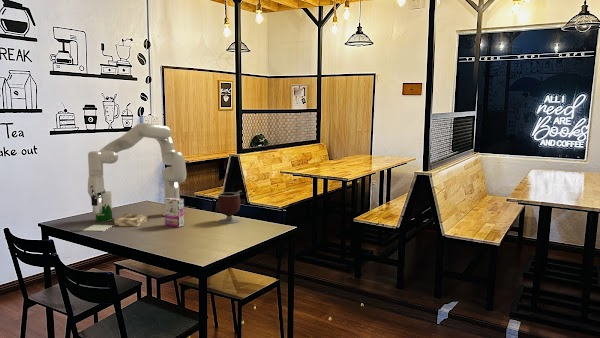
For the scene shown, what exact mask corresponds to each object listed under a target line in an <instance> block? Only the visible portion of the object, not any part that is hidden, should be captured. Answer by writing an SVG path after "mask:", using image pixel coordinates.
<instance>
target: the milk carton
mask: <svg viewBox="0 0 600 338" xmlns="http://www.w3.org/2000/svg"><path fill="white" fill-rule="evenodd" d="M105 189H106V188H104V192H103V204H102V213H99V214H95V222H102V221H107V222H109V221H111V220H110V219H112V220H113V219H114V218H113V210H112V209H113V205H112V202H113V201H112V196H113V195H112V194H113V191H112V190H105ZM93 195H95V194H93ZM108 220H109V221H108Z"/></svg>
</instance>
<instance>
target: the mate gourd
mask: <svg viewBox="0 0 600 338" xmlns="http://www.w3.org/2000/svg"><path fill="white" fill-rule="evenodd" d="M240 193H242V190H238V191H236V192H221V193H220V192H219V193H218V195H217V208H218V211H219V213H221V214H222V215H225V216H226V218H225V217H224V218H221V219H218V220H219V221H218V222H219V223H220V224H224V225H225V224H226V225H229V224H237V223H239V222H240V219H239V218H233V215H236V214H238V212H239V211H240V208H241V197H240Z"/></svg>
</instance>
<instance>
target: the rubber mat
mask: <svg viewBox="0 0 600 338" xmlns="http://www.w3.org/2000/svg"><path fill="white" fill-rule="evenodd" d="M112 226H113V227H115V225H113V224H110V225H109V224H93V225H90V226H88V227H86V228H84V229H82V231H84V232H105V231H107V230H109V229H111V228H113V227H112ZM110 227H111V228H110ZM108 228H109V229H108ZM106 229H107V230H106Z"/></svg>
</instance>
